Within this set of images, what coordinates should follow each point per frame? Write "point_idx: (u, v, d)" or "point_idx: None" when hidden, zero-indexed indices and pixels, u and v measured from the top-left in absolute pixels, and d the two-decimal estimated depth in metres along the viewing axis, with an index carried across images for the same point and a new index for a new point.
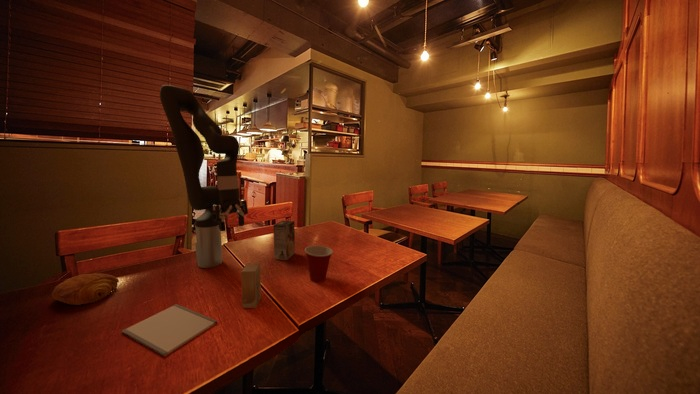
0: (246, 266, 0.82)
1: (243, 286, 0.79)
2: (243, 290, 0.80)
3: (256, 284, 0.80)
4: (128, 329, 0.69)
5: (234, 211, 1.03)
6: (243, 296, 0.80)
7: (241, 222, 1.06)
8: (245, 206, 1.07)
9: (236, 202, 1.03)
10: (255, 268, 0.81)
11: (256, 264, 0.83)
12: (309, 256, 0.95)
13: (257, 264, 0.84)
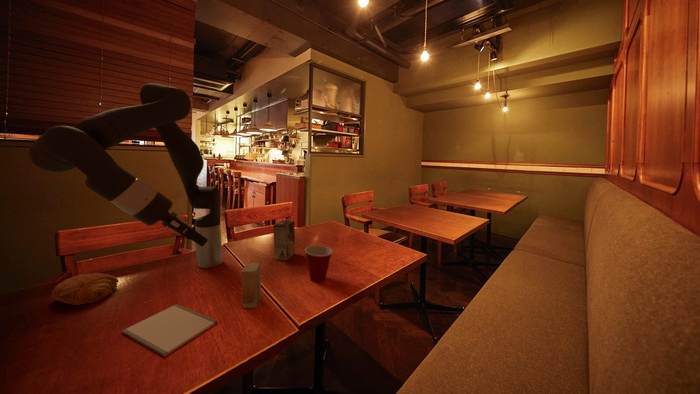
0: (246, 266, 0.82)
1: (243, 286, 0.79)
2: (243, 290, 0.80)
3: (256, 284, 0.80)
4: (128, 329, 0.69)
5: None
6: (243, 296, 0.80)
7: None
8: (177, 231, 0.61)
9: (164, 222, 0.63)
10: (255, 268, 0.81)
11: (256, 264, 0.83)
12: (309, 256, 0.95)
13: (257, 264, 0.84)
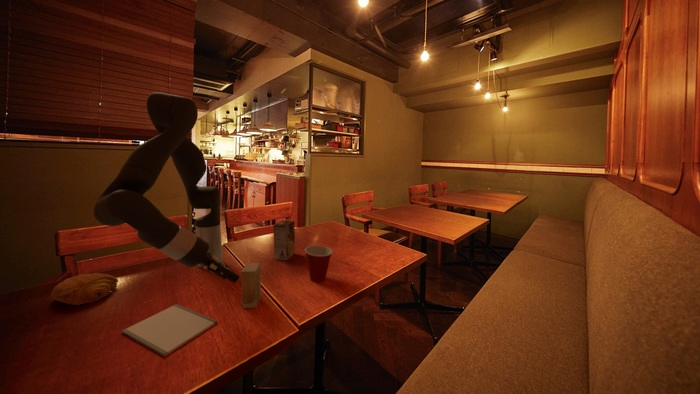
0: (246, 266, 0.82)
1: (243, 286, 0.79)
2: (243, 290, 0.80)
3: (256, 284, 0.80)
4: (128, 329, 0.69)
5: None
6: (243, 296, 0.80)
7: None
8: None
9: None
10: (255, 268, 0.81)
11: (256, 264, 0.83)
12: (309, 256, 0.95)
13: (257, 264, 0.84)
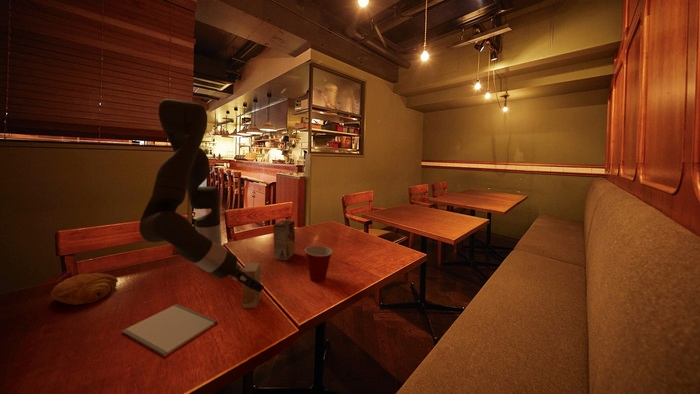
0: (246, 266, 0.82)
1: (243, 286, 0.79)
2: (243, 290, 0.80)
3: None
4: (128, 329, 0.69)
5: None
6: (243, 296, 0.80)
7: None
8: (244, 284, 0.74)
9: (232, 275, 0.76)
10: (255, 268, 0.81)
11: (256, 264, 0.83)
12: (309, 256, 0.95)
13: (257, 264, 0.84)
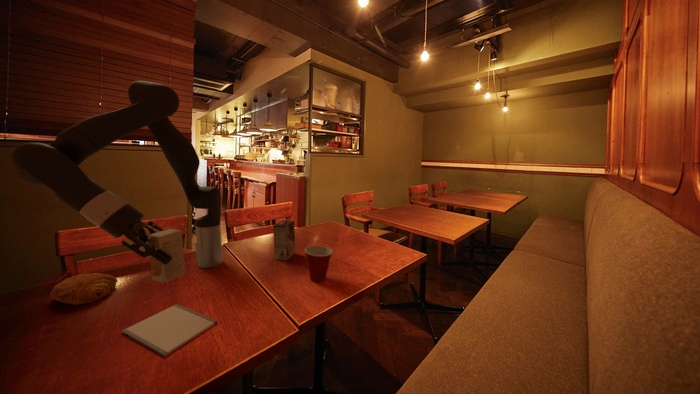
0: (162, 231, 0.68)
1: None
2: (150, 258, 0.65)
3: None
4: (128, 329, 0.69)
5: None
6: (151, 266, 0.66)
7: None
8: None
9: None
10: (165, 234, 0.65)
11: (175, 230, 0.68)
12: (309, 256, 0.95)
13: (176, 231, 0.68)
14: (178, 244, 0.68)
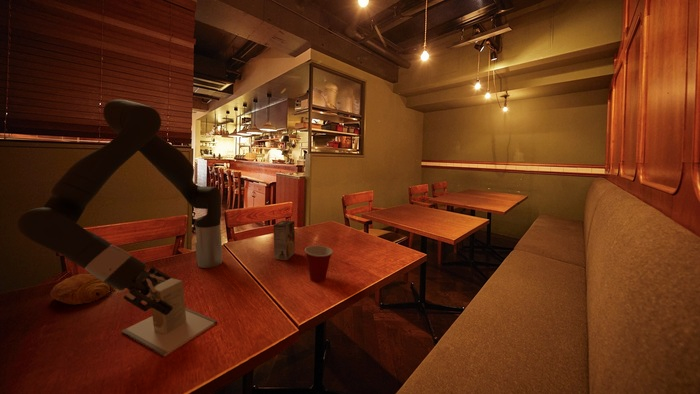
0: (164, 282, 0.69)
1: None
2: (152, 310, 0.67)
3: None
4: (128, 329, 0.69)
5: None
6: (153, 317, 0.68)
7: None
8: None
9: None
10: (166, 287, 0.67)
11: (176, 281, 0.70)
12: (309, 256, 0.95)
13: (177, 281, 0.70)
14: (179, 294, 0.70)
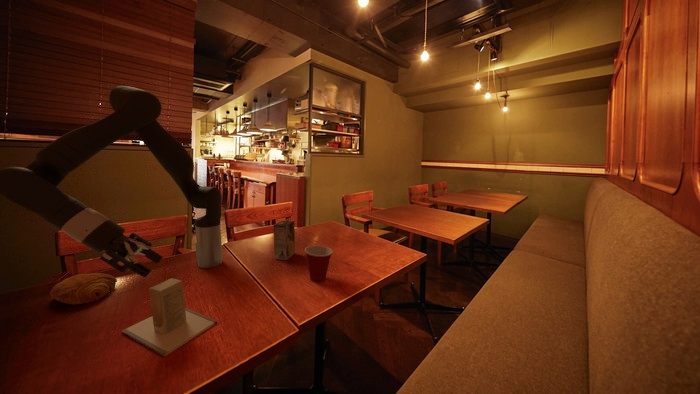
0: (164, 282, 0.69)
1: (152, 305, 0.67)
2: (152, 310, 0.67)
3: (165, 306, 0.67)
4: (128, 329, 0.69)
5: None
6: (153, 317, 0.68)
7: None
8: None
9: None
10: (167, 287, 0.67)
11: (176, 281, 0.70)
12: (309, 256, 0.95)
13: (177, 281, 0.70)
14: (179, 294, 0.70)
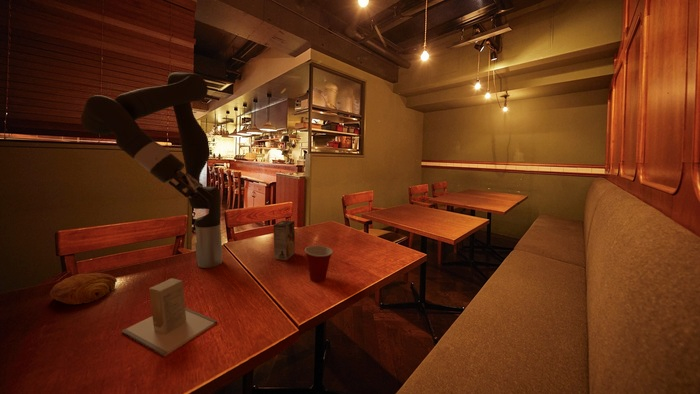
0: (164, 282, 0.69)
1: (152, 305, 0.67)
2: (152, 310, 0.67)
3: (165, 306, 0.67)
4: (128, 329, 0.69)
5: None
6: (153, 317, 0.68)
7: None
8: None
9: None
10: (166, 287, 0.67)
11: (176, 281, 0.70)
12: (309, 256, 0.95)
13: (177, 281, 0.70)
14: (179, 294, 0.70)
